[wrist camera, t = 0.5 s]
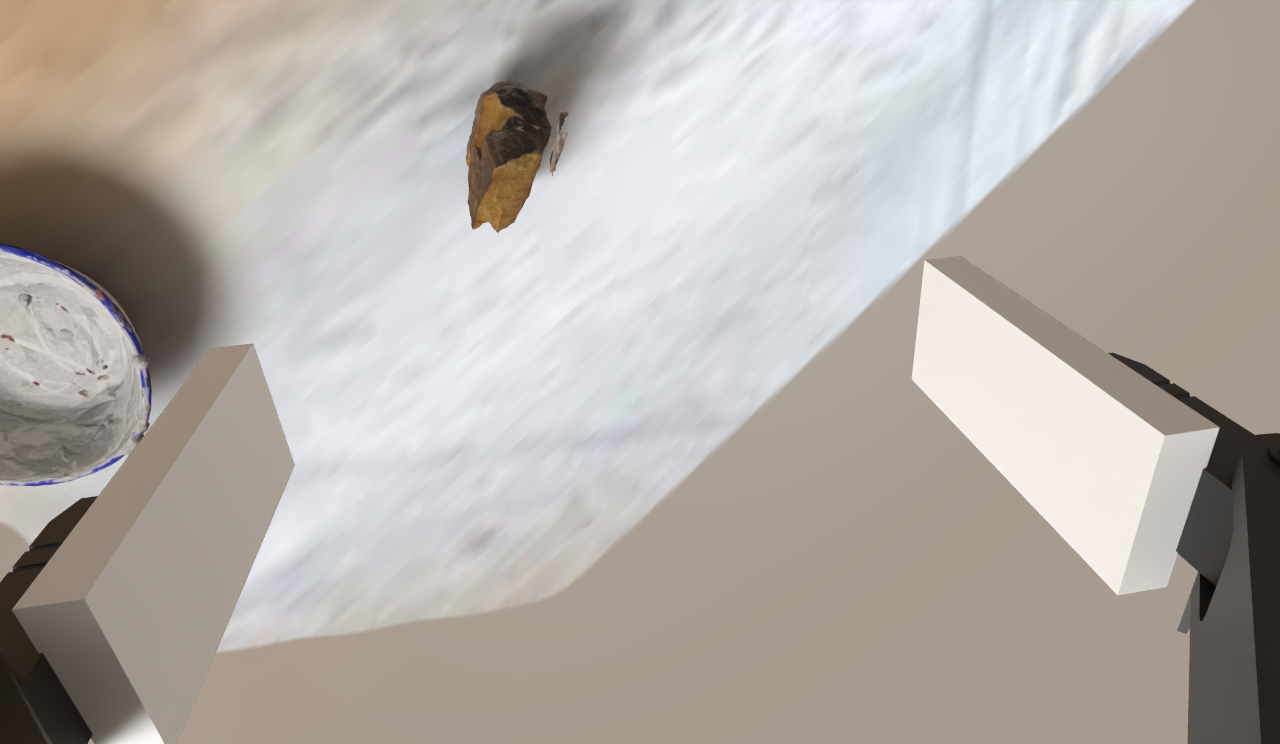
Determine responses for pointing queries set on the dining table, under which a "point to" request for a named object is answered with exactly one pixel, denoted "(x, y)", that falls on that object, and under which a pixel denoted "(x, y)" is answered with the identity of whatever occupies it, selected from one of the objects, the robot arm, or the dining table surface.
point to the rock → (507, 152)
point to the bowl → (65, 373)
